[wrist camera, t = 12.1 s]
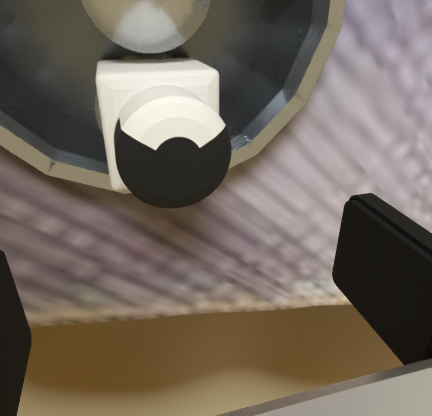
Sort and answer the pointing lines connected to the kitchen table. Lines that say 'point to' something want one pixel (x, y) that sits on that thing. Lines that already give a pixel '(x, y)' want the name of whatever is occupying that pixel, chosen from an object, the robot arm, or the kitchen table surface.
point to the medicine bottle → (163, 129)
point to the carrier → (152, 49)
